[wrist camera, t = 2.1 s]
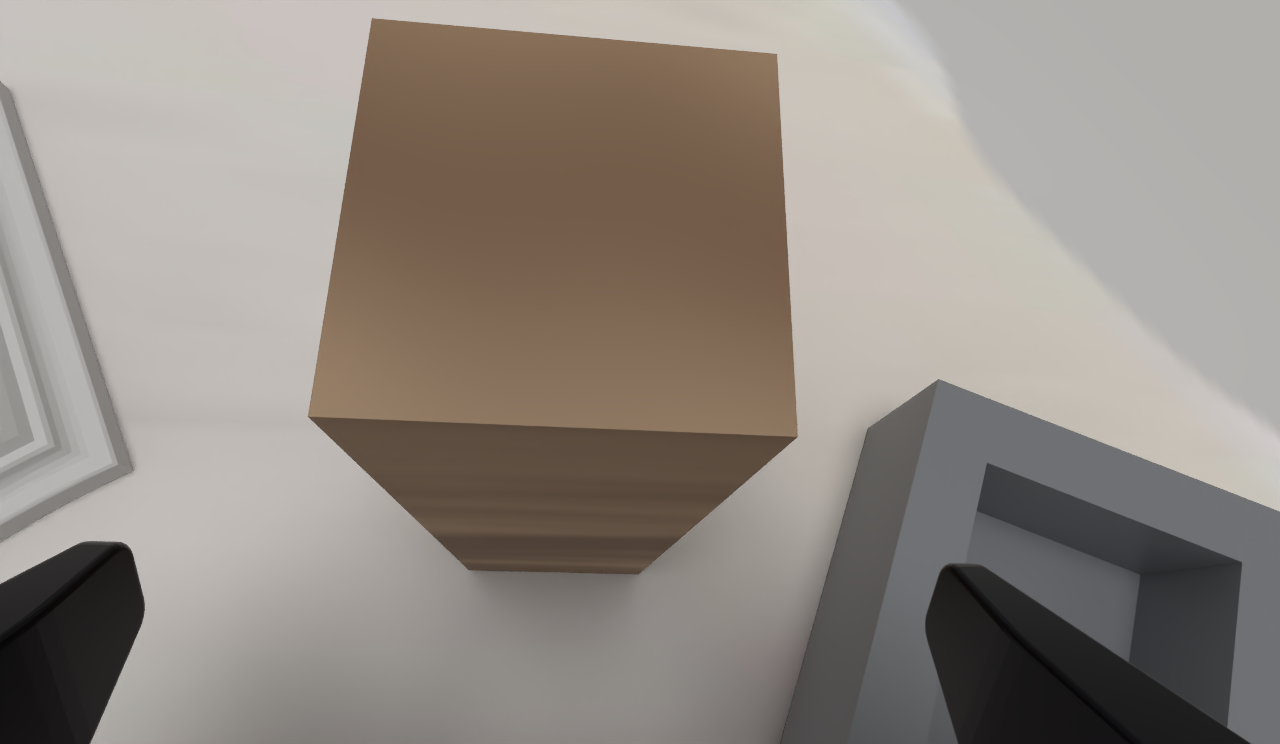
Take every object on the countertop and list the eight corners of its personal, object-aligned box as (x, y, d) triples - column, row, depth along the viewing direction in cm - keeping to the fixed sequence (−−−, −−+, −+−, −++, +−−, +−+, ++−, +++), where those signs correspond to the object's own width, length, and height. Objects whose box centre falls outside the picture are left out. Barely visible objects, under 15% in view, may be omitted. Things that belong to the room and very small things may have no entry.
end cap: (1127, 902, 18) (1283, 972, 14) (775, 761, 18) (834, 791, 14) (1171, 546, 20) (1311, 523, 17) (868, 428, 21) (938, 378, 17)
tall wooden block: (638, 573, 19) (797, 437, 7) (469, 569, 18) (307, 415, 6) (641, 413, 20) (777, 54, 8) (482, 406, 20) (372, 18, 8)
